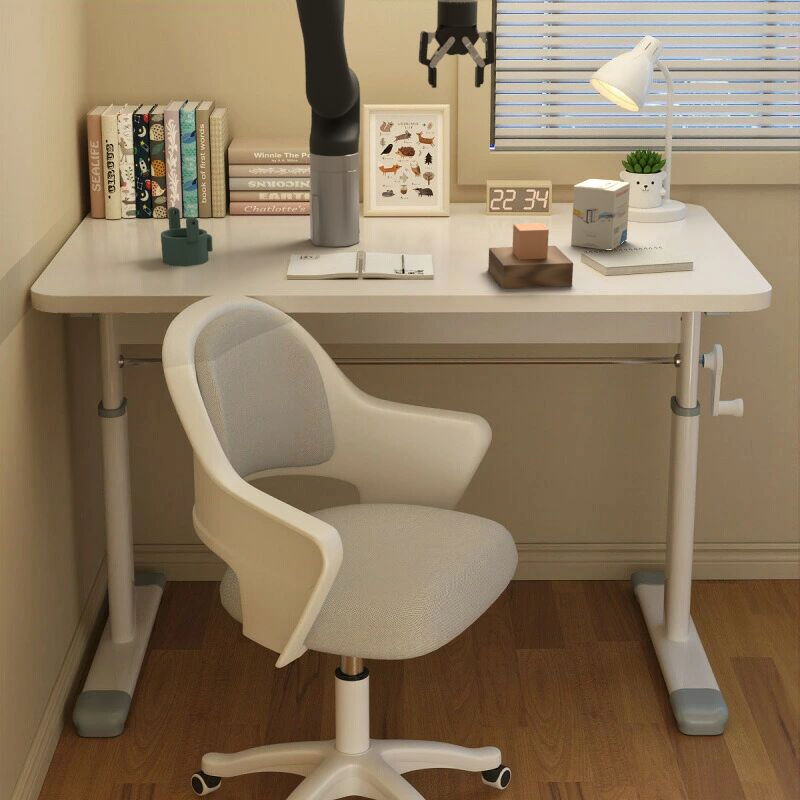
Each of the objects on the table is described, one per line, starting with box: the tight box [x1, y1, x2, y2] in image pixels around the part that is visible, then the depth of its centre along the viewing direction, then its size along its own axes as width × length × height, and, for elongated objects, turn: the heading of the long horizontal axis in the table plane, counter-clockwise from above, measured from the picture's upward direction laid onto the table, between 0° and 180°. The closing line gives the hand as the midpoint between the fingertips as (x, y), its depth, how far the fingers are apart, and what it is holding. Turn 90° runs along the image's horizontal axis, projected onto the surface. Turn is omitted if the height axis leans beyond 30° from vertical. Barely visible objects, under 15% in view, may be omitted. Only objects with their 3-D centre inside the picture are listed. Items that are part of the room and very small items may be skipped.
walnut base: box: [487, 245, 574, 289], centre depth 217 cm, size 12×12×4 cm
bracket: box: [160, 206, 213, 267], centre depth 227 cm, size 9×9×9 cm
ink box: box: [570, 178, 631, 250], centre depth 238 cm, size 9×8×12 cm
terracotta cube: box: [512, 222, 550, 259], centre depth 215 cm, size 5×5×5 cm
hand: (455, 87), depth 241 cm, fingers open, 8 cm apart
